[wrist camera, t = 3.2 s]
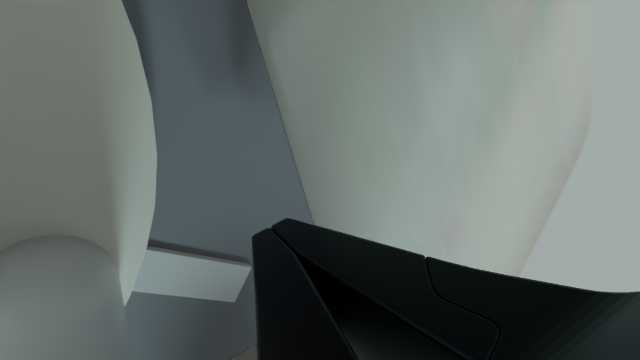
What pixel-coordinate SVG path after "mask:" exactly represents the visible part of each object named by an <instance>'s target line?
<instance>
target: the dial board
mask: <svg viewBox="0 0 640 360" xmlns="http://www.w3.org/2000/svg"><path fill="white" fill-rule="evenodd" d="M121 1H122V3H123V6H124V8H125V11H126V13H127V16H128V19H129V21H130V24H131V26H132V29H133V32H134V34H135V37H136V40H137V44H138V48H139V52H140V56H141V60H142V64H143V68H144V72H145V76H146V80H147V84H148V88H149V92H150V96H151V101H152V110H153V120H154V129H155V139H156V149H157V173H156V195H155V209H154V214H153V219H152V224H151V229H150V234H149V239H148V244H147V249H146V254H145V256H144V259H143V262H142V265H141V268H140V270H139V273H138V276H137V279H136V281H135V284H134V287H133V290H132V293H131V295H130V298H129V299H128V301H127V303H126V305H125V307H124V309H125V315H126V321H127V328H128V334H129V340H130V346H131V353H132V359H133V360H230V359H231V358H233V357H234V356H236V355H238V354H239V353H241V352H243V351H244V350H246V349H247V348H249V347H251V346H252V345H254V344H256V343H257V337H256V318H255V298H254V279H253V260H252V240H251V238H252V236H253V235H254V234H256V233H258V232H260V231H262V230H264V229H266V228H270V229H271V226H272V225H273V224H275V223H277V222H279V221H281V220H283V219H285V218H291V219H295V220H298V221H302V222H306V223H309V224H313V222H312V219H311V216H310V212H309V209H308V206H307V202H306V199H305V196H304V192H303V189H302V186H301V182H300V179H299V176H298V172H297V169H296V166H295V162H294V159H293V156H292V152H291V149H290V146H289V142H288V139H287V136H286V132H285V129H284V126H283V122H282V119H281V116H280V112H279V109H278V106H277V102H276V99H275V96H274V92H273V89H272V86H271V82H270V79H269V76H268V73H267V69H266V66H265V63H264V59H263V56H262V53H261V49H260V46H259V43H258V39H257V36H256V33H255V29H254V26H253V23H252V19H251V16H250V13H249V9H248V6H247V3H246V0H121Z"/></svg>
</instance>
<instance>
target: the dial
mask: <svg viewBox="0 0 640 360" xmlns="http://www.w3.org/2000/svg"><path fill="white" fill-rule="evenodd" d="M156 173H157V149H156V139H155V129H154V120H153V110H152V101H151V96H150V92H149V88H148V84H147V80H146V76H145V72H144V68H143V64H142V60H141V56H140V52H139V48H138V44H137V40H136V37H135V34H134V32H133V29H132V26H131V24H130V21H129V19H128V16H127V13H126V11H125V8H124V6H123V3H122V1H121V0H0V360H133V359H132V353H131V346H130V340H129V334H128V328H127V321H126V315H125V309H124V307H125V305H126V303H127V301H128V299H129V298H130V295H131V293H132V290H133V287H134V284H135V281H136V279H137V276H138V273H139V270H140V268H141V265H142V262H143V259H144V256H145V254H146V249H147V244H148V239H149V234H150V229H151V224H152V219H153V214H154V209H155V195H156Z"/></svg>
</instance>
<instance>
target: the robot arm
mask: <svg viewBox="0 0 640 360" xmlns="http://www.w3.org/2000/svg"><path fill="white" fill-rule="evenodd" d="M251 240H252V260H253V279H254V298H255V318H256V337H257V356H258V360H640V292H628V293H627V292H626V293H622V292H621V293H620V292H619V293H618V292H617V293H616V292H615V293H614V292H600V291H593V290H585V289H580V288H574V287H569V286H563V285H558V284H553V283H547V282H542V281H536V280H531V279H526V278H520V277H515V276H509V275H504V274H499V273H494V272H489V271H484V270H479V269H475V268H470V267H467V266H463V265H459V264H455V263H451V262H447V261H443V260H439V259H436V258H432V257H426V259H425V256H424V255H421V254H417V253H414V252H410V251H406V250H403V249H399V248H396V247H392V246H388V245H385V244H381V243H378V242H374V241H370V240H367V239H363V238H360V237H356V236H352V235H349V234H345V233H342V232H338V231H334V230H331V229H327V228H324V227H320V226H316V225H313V224H309V223H306V222H302V221H298V220H295V219H291V218H285V219H283V220H281V221H279V222H277V223H275V224H273V225H272V226H271V229H270V228H266V229H264V230H262V231H260V232H258V233H256V234H254V235H253V236H252V238H251Z"/></svg>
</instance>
